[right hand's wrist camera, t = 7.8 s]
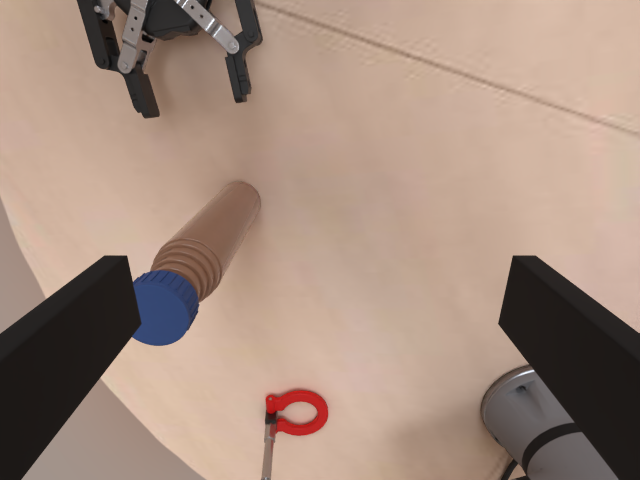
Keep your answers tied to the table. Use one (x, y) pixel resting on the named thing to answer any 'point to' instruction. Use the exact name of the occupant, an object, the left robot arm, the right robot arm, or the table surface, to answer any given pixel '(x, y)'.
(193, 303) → the cap
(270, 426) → the tow hook
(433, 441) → the table surface
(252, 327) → the table surface
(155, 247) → the table surface
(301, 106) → the table surface
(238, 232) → the bottle
